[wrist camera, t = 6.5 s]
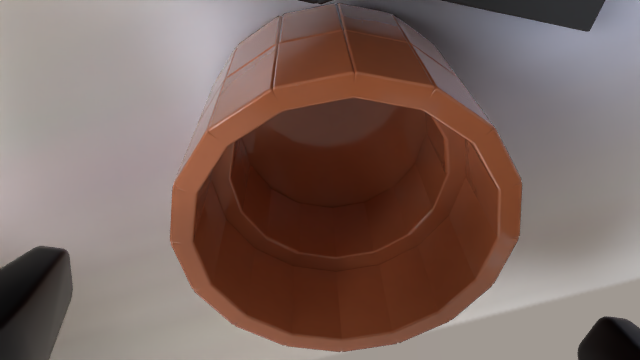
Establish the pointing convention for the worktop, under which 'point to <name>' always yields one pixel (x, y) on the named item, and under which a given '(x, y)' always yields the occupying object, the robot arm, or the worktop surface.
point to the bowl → (342, 185)
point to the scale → (537, 10)
